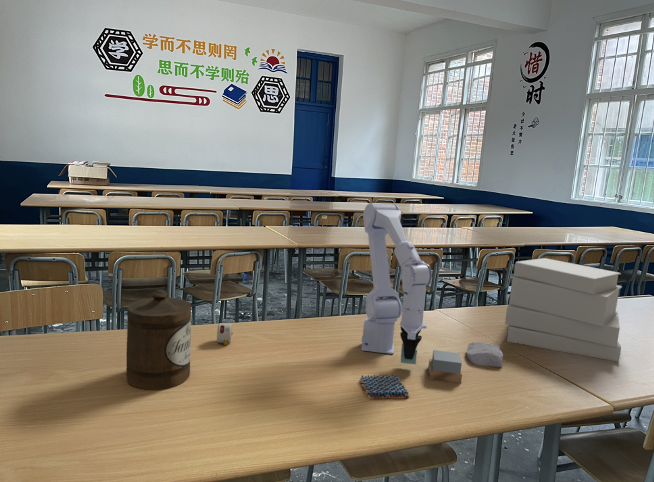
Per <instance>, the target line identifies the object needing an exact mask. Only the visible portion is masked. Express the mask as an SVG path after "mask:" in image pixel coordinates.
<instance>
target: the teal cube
mask: <svg viewBox="0 0 654 482" xmlns="http://www.w3.org/2000/svg"><path fill="white" fill-rule="evenodd" d="M417 355H418V347H417V348H416V350H415V354H414V357H413V359H412V360H411V359H405V357H404V346H403V342H402V343H401V352H400V363H401V364H410V365H416V363H417Z"/></svg>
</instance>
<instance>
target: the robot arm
mask: <svg viewBox="0 0 654 482" xmlns="http://www.w3.org/2000/svg"><path fill="white" fill-rule="evenodd" d="M362 213H363V214H362V215H363V218H362V219H363V225H364V226H363V227H364V232H365V233H366V234H367V237H368V246H369V256H370V265H371V266H370V267H371V273H372V274H371V275H372V282H373V283H372V284H373V285H372V286H373V289H372V290H371V291H370V292H369V293H368V294H367V295H366V297H365V298H366V299H365V300H366V304H365V314H366V316H367V317H366V318H364V321H363V327H362V328H363V329H362V336H361V351H364V352H373V353H380V354H381V353H382V354H388V355H389V354H390V355H393V354H394V353H395V344H394V337H395V323H396V322H398V319H399V318H401V319H400V320H401V321H400V323H399V326H400V330H401V331H400V339H401V341H402V343H403V346H404V357H405V359H411V360H412V359H413V357H414V354H415V350H416V348H417V349H418V345H419V343H420V342H421V340H423V339H422V337H423V336H422V335H419V334H420V333H421V331H422V329H427V326H428V325H427V324H426V323H423V320H424V312H425V311H424V310H425V301H426V292H427V286H428V285H430V284H431V282H432V279H433V272H432V268H431V265H429V264H428V263H426V262H425V261H423V260H421V257H420V255H419V253H418V251H417V249H416V247H415V245H414V243H413V242H411V241H408V239H407V237H406V234H405V232H404V228H403V226H402V223H401V219H402V212H401V209H400V207H399V205H398V204H396V203H392V204H390V203H387V204H386V203H372V202H369V203H367V204H366V206H365V207H364V211H363V212H362ZM387 234H388V235H389V237H390V239H391V241H392V242H393V243H394V246H395V248H394V251H393V254H394V255H395V257H396V259H397V262H398V264H399V266H400V269H401V270H402V271H401V272H400V278H401V282H402V285H401V289H402V291H403V297H402V302H401V300H400V295H399V294H400V293H399V292H398V291H396V290H395V289H393V288H392V286H391V285H392V284H391V277H390V275H391V274H390V267H389V259H388V251H387V243H386V235H387Z"/></svg>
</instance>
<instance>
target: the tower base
mask: <svg viewBox="0 0 654 482" xmlns="http://www.w3.org/2000/svg"><path fill="white" fill-rule="evenodd" d="M427 367H428V374H429V375H428V376H429V380H430V381H439V382H447V383H454V382H455V384H462V378H463V373H462V372H463V371H461V374H457V373H449V372H442V371H434V370H433V364H432V358H429V359H428V366H427Z"/></svg>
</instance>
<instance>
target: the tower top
mask: <svg viewBox="0 0 654 482" xmlns="http://www.w3.org/2000/svg"><path fill="white" fill-rule="evenodd" d="M431 359H432V364H433V370H434V371H442V372H449V373H457V374H461V372H462V360H461V355H460V353H459V352H453V351H446V350H438V349H437V350H436V349H433V350H432V356H431Z"/></svg>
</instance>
